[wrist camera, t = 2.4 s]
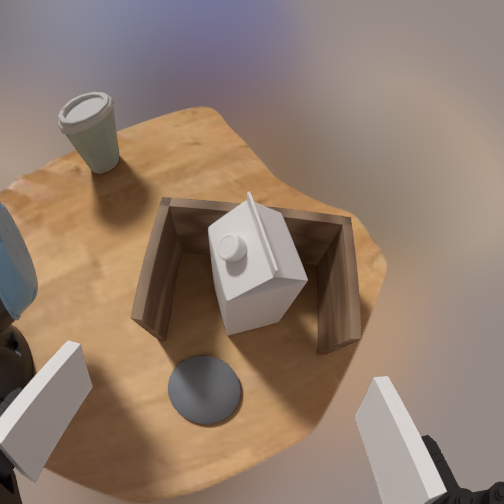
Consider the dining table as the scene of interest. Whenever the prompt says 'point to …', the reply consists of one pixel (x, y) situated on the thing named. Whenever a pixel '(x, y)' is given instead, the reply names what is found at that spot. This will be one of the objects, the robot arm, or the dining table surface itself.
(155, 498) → the dining table surface
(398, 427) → the robot arm
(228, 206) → the walnut cubby
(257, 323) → the milk carton
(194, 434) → the dining table surface
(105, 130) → the disposable coffee cup
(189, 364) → the disc
